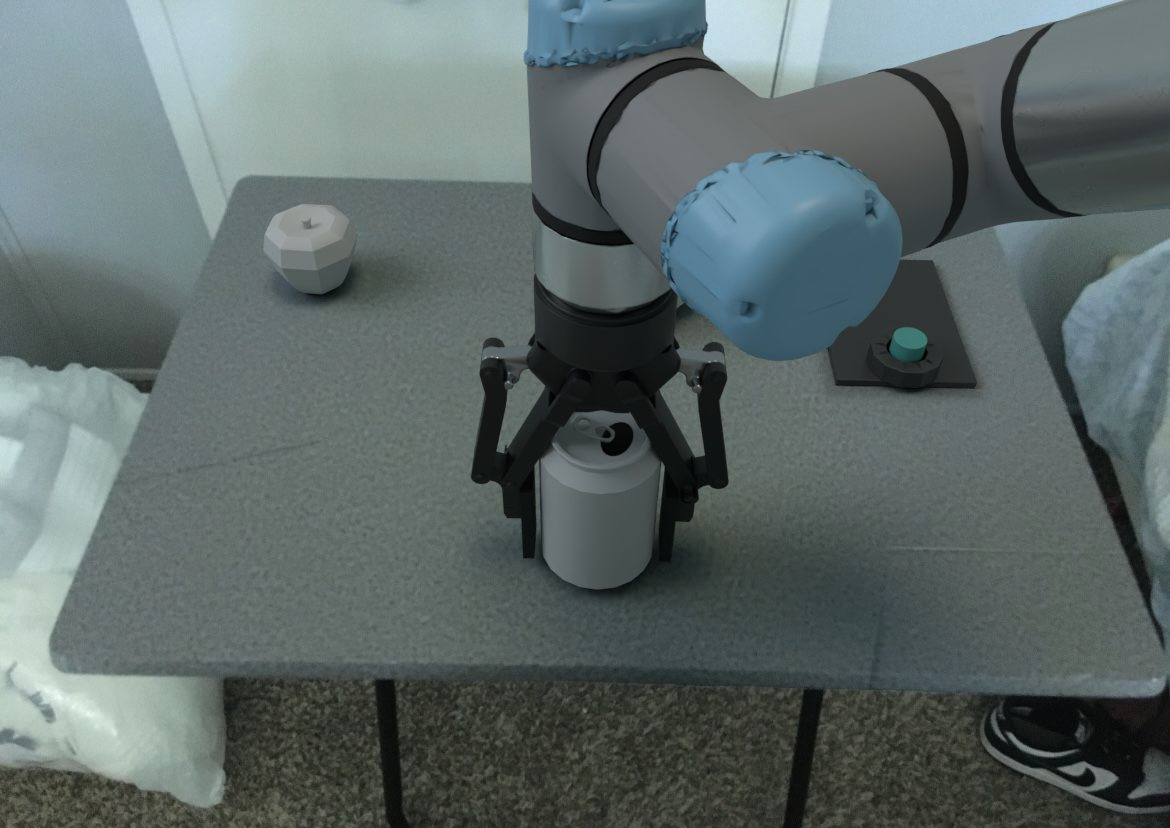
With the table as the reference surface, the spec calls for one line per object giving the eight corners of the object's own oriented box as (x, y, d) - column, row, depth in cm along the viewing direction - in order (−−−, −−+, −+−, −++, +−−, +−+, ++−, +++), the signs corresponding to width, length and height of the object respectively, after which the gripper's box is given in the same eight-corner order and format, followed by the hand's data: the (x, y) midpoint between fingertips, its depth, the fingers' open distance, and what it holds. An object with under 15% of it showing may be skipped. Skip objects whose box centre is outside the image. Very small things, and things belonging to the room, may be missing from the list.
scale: (977, 394, 81) (985, 374, 79) (837, 391, 81) (842, 371, 79) (931, 265, 93) (937, 245, 91) (808, 262, 93) (812, 242, 91)
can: (634, 610, 66) (644, 488, 58) (524, 579, 68) (519, 455, 59) (665, 524, 71) (679, 400, 63) (563, 496, 73) (563, 372, 64)
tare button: (926, 364, 80) (930, 349, 79) (892, 363, 80) (897, 348, 79) (919, 341, 82) (923, 327, 81) (886, 341, 82) (890, 326, 81)
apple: (268, 263, 92) (252, 199, 87) (357, 247, 93) (346, 184, 89) (278, 318, 86) (261, 254, 82) (372, 300, 88) (361, 237, 83)
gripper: (803, 233, 55) (749, 504, 72) (411, 224, 56) (445, 497, 72) (823, 323, 50) (760, 594, 66) (389, 313, 50) (432, 586, 66)
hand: (597, 543), depth 69 cm, fingers open, 8 cm apart
